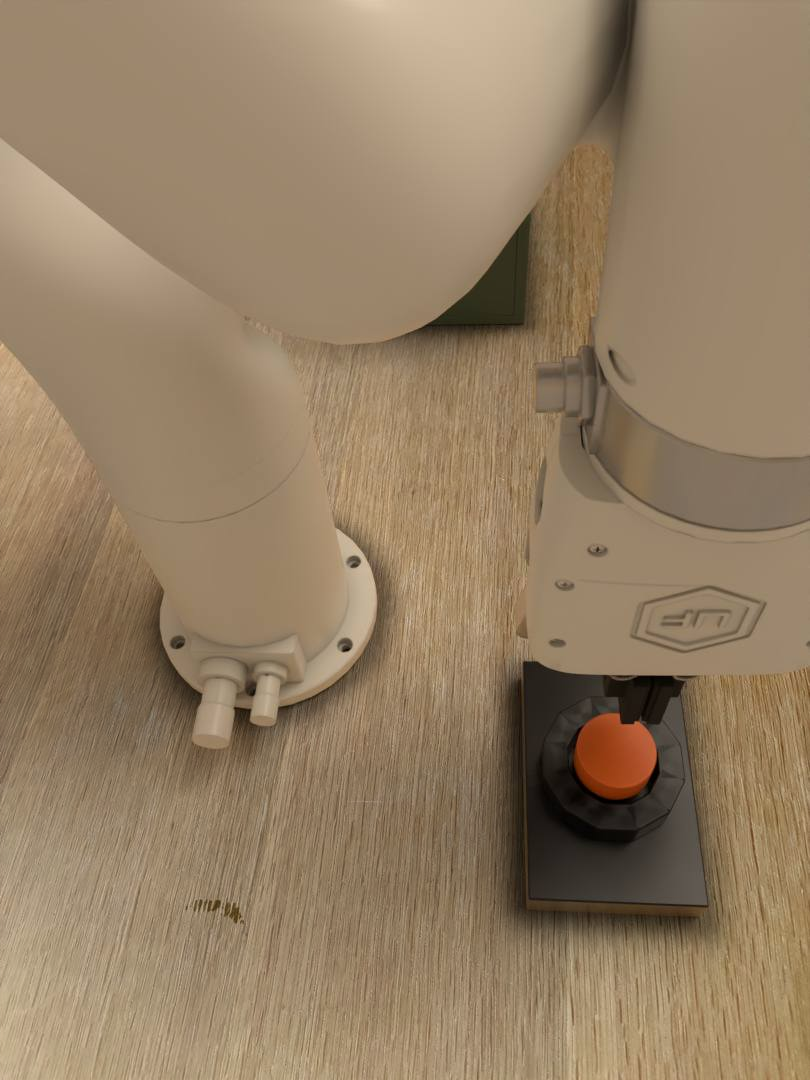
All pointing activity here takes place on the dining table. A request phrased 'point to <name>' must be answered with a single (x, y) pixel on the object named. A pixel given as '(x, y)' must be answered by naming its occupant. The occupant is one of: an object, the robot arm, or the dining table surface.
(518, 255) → the chest
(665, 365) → the robot arm
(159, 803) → the dining table surface
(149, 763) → the dining table surface
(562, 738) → the button block
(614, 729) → the button
